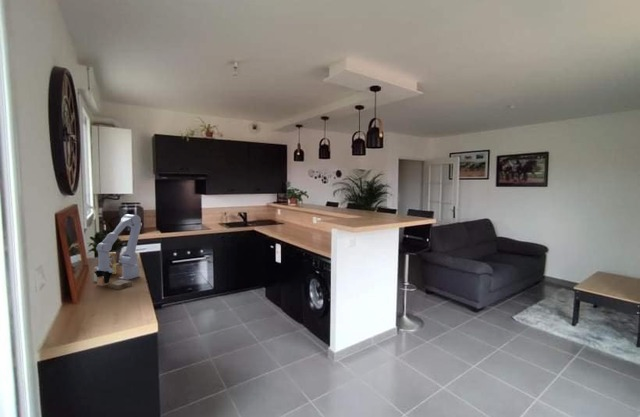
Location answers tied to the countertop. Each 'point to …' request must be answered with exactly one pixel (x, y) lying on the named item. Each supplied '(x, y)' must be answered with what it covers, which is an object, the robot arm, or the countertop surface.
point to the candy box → (112, 261)
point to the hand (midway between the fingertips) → (103, 282)
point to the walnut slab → (119, 284)
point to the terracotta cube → (101, 281)
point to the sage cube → (95, 278)
